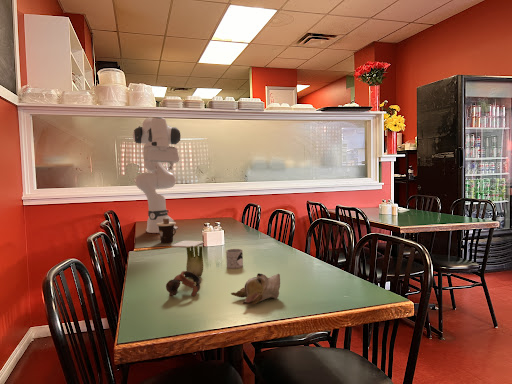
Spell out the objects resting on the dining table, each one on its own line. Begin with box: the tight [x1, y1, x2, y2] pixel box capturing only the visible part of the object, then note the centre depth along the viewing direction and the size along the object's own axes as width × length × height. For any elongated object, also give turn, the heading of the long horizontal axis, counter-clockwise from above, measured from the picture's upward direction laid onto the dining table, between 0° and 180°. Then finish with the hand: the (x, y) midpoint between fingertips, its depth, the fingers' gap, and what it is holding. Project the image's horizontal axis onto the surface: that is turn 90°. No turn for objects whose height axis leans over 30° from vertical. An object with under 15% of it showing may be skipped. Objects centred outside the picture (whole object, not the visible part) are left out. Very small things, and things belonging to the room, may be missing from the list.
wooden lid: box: [157, 218, 177, 226], centre depth 205 cm, size 10×10×3 cm
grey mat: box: [171, 240, 205, 249], centre depth 198 cm, size 13×13×1 cm
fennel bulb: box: [185, 245, 204, 279], centre depth 137 cm, size 6×5×12 cm
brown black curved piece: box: [165, 270, 202, 297], centre depth 119 cm, size 12×10×8 cm
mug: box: [225, 248, 244, 270], centre depth 152 cm, size 10×7×7 cm, turn 168°
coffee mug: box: [158, 225, 177, 244], centre depth 205 cm, size 12×9×10 cm
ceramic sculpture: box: [230, 273, 281, 306], centre depth 112 cm, size 11×9×15 cm
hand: (163, 169), depth 202 cm, fingers open, 8 cm apart
